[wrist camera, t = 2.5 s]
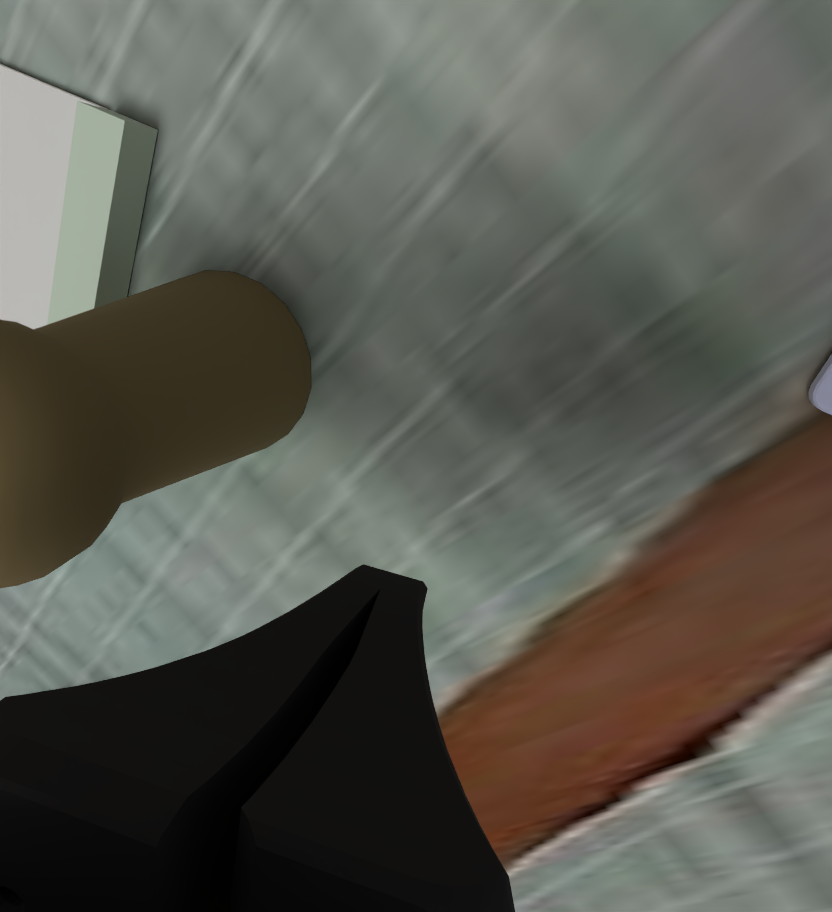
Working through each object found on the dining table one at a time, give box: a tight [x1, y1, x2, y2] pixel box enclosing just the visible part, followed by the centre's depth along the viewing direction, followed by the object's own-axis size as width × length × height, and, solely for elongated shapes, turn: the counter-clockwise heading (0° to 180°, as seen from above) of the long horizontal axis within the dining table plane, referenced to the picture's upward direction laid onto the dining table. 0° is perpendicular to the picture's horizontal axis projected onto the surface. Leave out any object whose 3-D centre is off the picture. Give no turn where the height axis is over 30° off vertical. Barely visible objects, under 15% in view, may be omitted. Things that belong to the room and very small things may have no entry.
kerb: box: [47, 101, 158, 325], centre depth 20 cm, size 2×12×2 cm, turn 159°
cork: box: [0, 270, 311, 588], centre depth 15 cm, size 6×6×11 cm
